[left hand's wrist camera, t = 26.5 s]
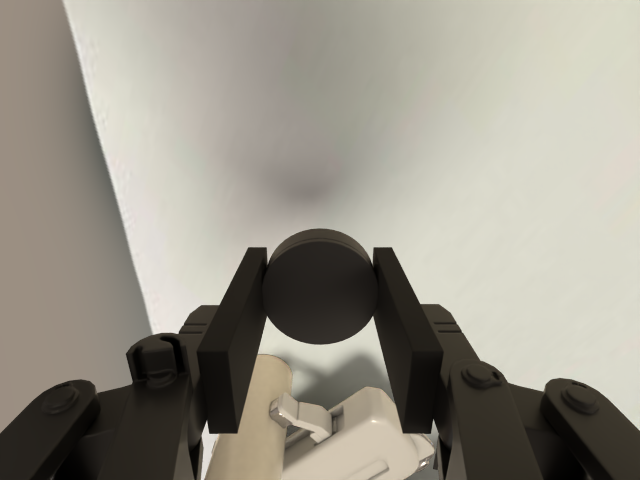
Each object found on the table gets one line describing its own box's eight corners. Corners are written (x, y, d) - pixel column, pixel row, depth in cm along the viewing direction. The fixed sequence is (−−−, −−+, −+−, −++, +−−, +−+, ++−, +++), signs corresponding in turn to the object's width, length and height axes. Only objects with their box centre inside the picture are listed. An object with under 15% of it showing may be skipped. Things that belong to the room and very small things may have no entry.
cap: (253, 304, 15) (246, 325, 14) (286, 211, 14) (283, 224, 12) (348, 335, 16) (351, 358, 14) (391, 249, 14) (399, 265, 13)
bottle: (238, 351, 34) (158, 589, 17) (294, 356, 34) (268, 596, 17) (237, 394, 36) (165, 644, 19) (290, 399, 36) (263, 649, 19)
